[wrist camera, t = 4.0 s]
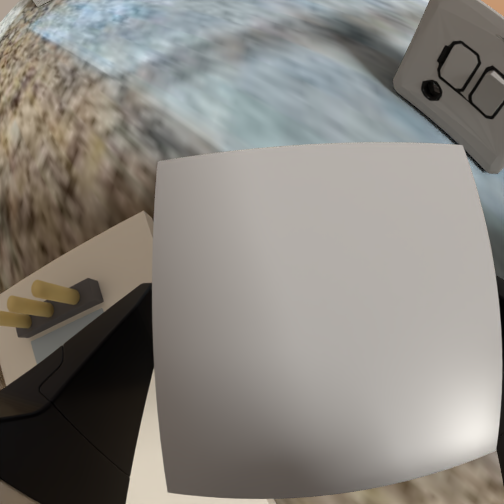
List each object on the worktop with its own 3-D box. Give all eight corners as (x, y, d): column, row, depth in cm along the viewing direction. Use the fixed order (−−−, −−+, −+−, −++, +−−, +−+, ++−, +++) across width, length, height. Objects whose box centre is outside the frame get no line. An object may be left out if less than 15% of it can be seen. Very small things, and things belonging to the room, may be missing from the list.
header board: (280, 510, 13) (275, 565, 8) (89, 535, 13) (50, 566, 8) (152, 217, 18) (107, 178, 13) (-2, 304, 18) (-54, 293, 13)
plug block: (353, 372, 15) (495, 450, 3) (253, 380, 15) (168, 492, 4) (346, 273, 16) (463, 145, 4) (248, 281, 16) (157, 161, 5)
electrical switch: (387, 89, 18) (427, -22, 10) (418, 66, 19) (456, -26, 11) (490, 182, 16) (574, 96, 7) (509, 146, 17) (574, 70, 8)
